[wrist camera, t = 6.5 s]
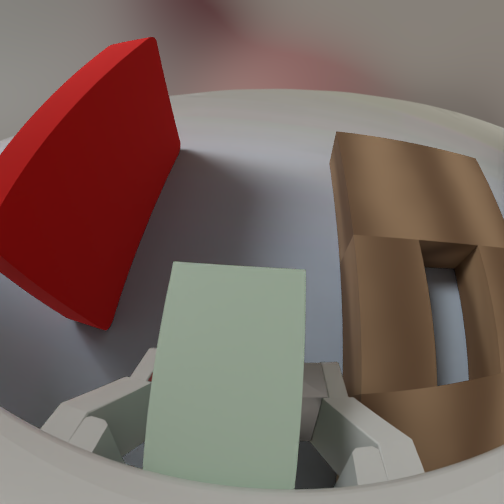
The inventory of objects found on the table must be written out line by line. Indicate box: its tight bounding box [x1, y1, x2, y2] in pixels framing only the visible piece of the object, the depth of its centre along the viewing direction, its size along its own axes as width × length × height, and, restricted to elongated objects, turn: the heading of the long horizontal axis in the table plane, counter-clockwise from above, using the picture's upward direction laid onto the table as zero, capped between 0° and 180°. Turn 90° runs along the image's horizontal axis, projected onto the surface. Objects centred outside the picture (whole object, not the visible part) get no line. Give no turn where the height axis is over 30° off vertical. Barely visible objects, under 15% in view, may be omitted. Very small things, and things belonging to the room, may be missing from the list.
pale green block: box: [143, 261, 306, 489], centre depth 9 cm, size 2×4×10 cm, turn 175°
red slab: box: [0, 37, 180, 330], centre depth 14 cm, size 15×3×10 cm, turn 170°
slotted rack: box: [330, 132, 504, 482], centre depth 13 cm, size 12×24×3 cm, turn 175°
